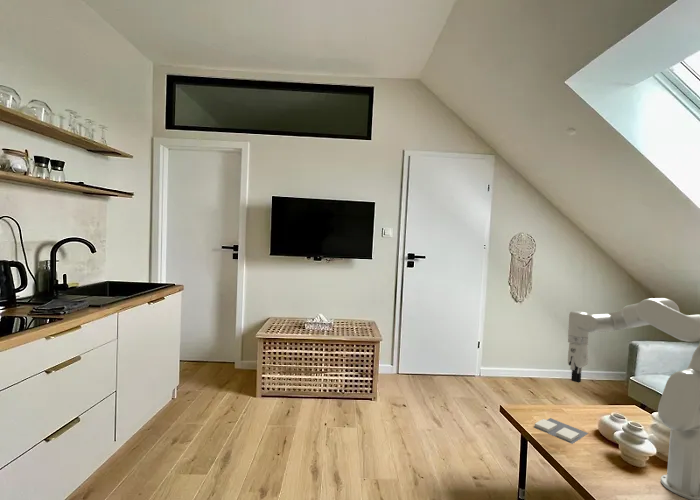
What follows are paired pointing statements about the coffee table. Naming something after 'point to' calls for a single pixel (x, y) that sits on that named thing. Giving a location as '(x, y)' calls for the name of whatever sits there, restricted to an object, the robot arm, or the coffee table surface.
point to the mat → (561, 426)
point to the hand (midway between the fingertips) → (576, 381)
